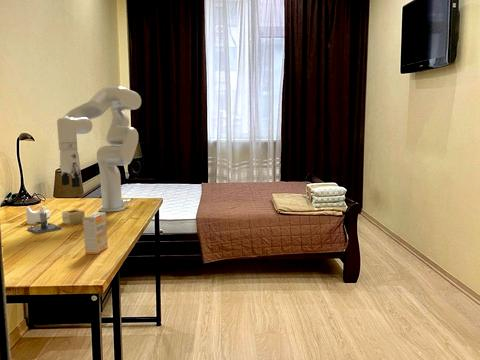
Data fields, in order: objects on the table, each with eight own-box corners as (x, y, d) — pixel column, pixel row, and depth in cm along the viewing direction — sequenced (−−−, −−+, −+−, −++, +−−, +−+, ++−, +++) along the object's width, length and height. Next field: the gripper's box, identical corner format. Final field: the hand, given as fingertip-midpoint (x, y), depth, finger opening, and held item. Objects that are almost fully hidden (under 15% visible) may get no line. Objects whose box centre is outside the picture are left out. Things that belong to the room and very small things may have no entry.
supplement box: (98, 254, 165) (95, 217, 163) (84, 254, 166) (82, 216, 164) (108, 247, 173) (106, 211, 171) (96, 247, 174) (93, 211, 172)
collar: (77, 220, 218) (76, 209, 218) (85, 222, 213) (84, 211, 213) (62, 222, 213) (61, 211, 213) (70, 225, 208) (69, 214, 208)
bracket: (44, 223, 214) (43, 206, 213) (27, 224, 213) (26, 207, 212) (50, 217, 227) (49, 201, 226) (34, 218, 226) (33, 202, 225)
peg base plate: (51, 225, 209) (49, 209, 208) (61, 229, 202) (60, 212, 201) (27, 229, 202) (26, 213, 201) (37, 233, 195) (35, 216, 194)
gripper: (85, 146, 205) (88, 186, 207) (67, 145, 217) (70, 183, 220) (68, 147, 200) (71, 188, 202) (50, 146, 212) (53, 185, 214)
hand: (70, 185), depth 211 cm, fingers open, 9 cm apart
